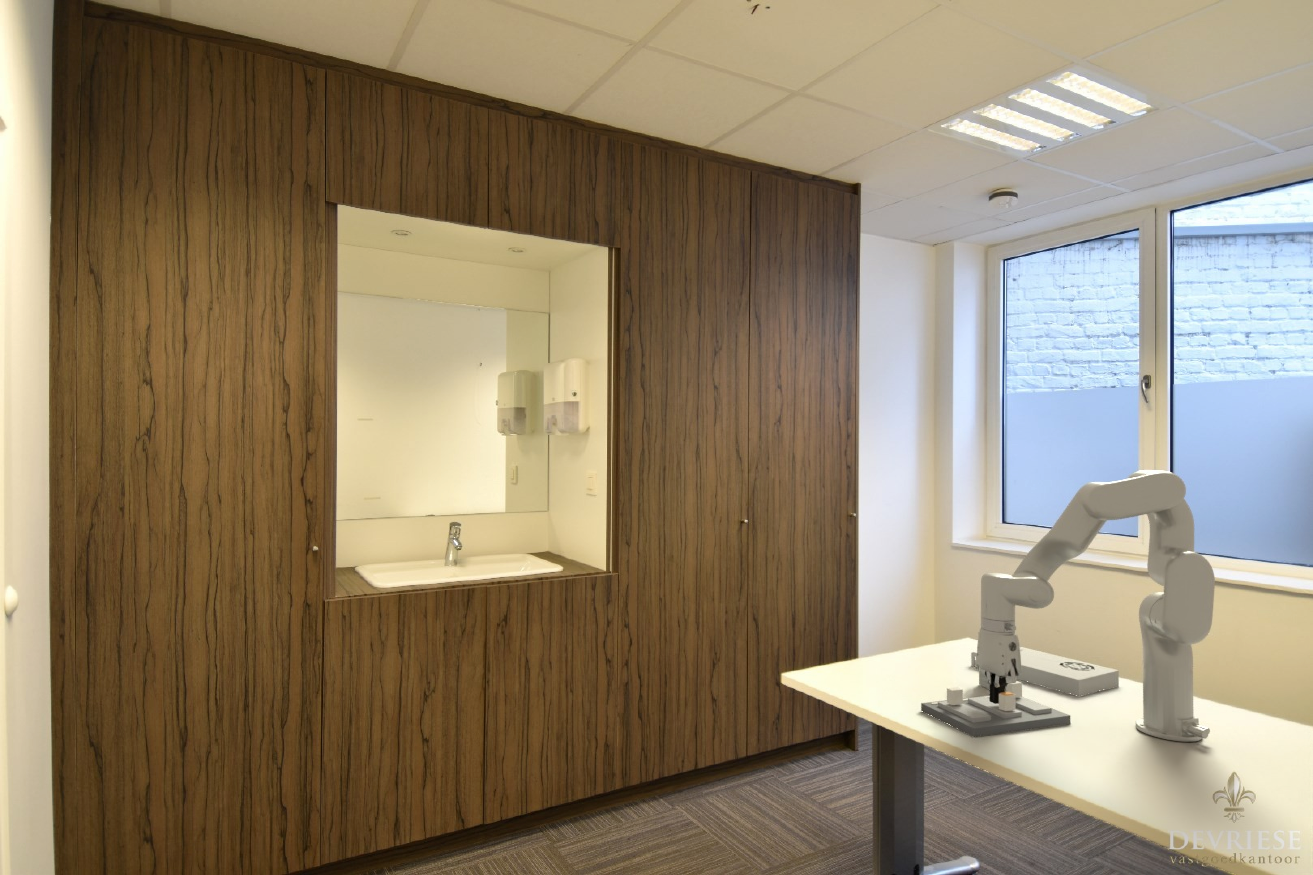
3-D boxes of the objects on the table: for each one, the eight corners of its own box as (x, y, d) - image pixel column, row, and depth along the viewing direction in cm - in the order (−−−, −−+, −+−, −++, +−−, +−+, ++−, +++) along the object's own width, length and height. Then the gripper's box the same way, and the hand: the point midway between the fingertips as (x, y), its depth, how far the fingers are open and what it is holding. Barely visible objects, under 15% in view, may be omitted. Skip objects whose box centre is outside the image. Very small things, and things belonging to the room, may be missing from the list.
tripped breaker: (1015, 709, 176) (1015, 693, 176) (1005, 711, 175) (1005, 694, 175) (1008, 707, 178) (1008, 691, 178) (998, 708, 177) (998, 692, 177)
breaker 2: (1022, 696, 185) (1021, 682, 186) (1012, 698, 184) (1012, 683, 185) (1015, 694, 187) (1015, 680, 187) (1006, 695, 186) (1006, 681, 186)
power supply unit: (1010, 660, 235) (1010, 644, 235) (1119, 688, 206) (1119, 670, 206) (971, 668, 225) (971, 651, 225) (1079, 699, 197) (1078, 680, 197)
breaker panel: (1070, 723, 176) (1070, 711, 176) (973, 737, 167) (973, 723, 167) (1011, 700, 193) (1011, 688, 193) (921, 711, 184) (921, 699, 184)
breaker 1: (962, 704, 180) (962, 689, 180) (952, 705, 179) (952, 690, 179) (956, 701, 182) (956, 686, 182) (946, 702, 181) (946, 688, 181)
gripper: (1034, 631, 174) (1034, 711, 173) (988, 618, 188) (987, 691, 187) (1008, 633, 171) (1007, 714, 171) (963, 619, 186) (962, 693, 185)
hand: (997, 702), depth 179 cm, fingers closed
